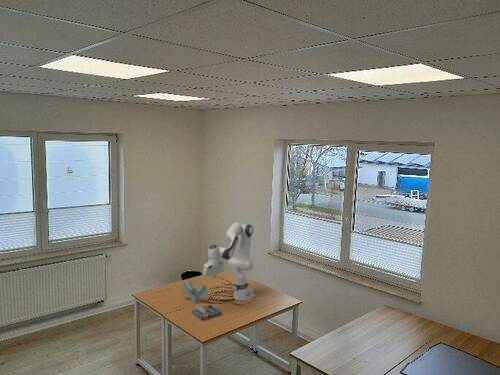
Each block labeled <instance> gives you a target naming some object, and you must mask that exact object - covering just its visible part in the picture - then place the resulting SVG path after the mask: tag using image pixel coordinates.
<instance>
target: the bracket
mask: <svg viewBox="0 0 500 375" xmlns="http://www.w3.org/2000/svg"><path fill="white" fill-rule="evenodd" d="M181 285H182V290H181V291H182V293H181V294H182V295H183V296H187V297H190V304H194V305H195V304H199V303H201V301H202V300H203V299H204V300H209V291H208V290H209V288H208V287H207V286H206V285H205V284H204V282H202V281H201V282H200V285H199V286H198V287H196V286H194V284H193V281H192V280H190V281H188V280H186V281H184V282H182V284H181Z"/></svg>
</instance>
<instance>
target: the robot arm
mask: <svg viewBox="0 0 500 375" xmlns="http://www.w3.org/2000/svg"><path fill="white" fill-rule="evenodd" d="M254 229H255V228H254V227H253V225H251V224H247V223H246V224H245V223H240V222H234V223H233V224H231V225H230V226H229V228H228V229H227V230H226V233H225V237H226V239H227V240H228V241H229V242H230V244H229V246H228V247H222V246H219V245H216V244H212V245H210V246H208V252H207V256H208V261H207V262H206V263H205V264H203V270H202V271H203V272H202V275H203V277H205V278H208V277H210V276H211V277H212V280H215V279H217V276H218V274H220V273H223V272H224V271H225V267H224V261H219V260H220V259H222V260H226V261H227V265H228V267H229V268H230V269H231V271H232V273H233V275H234V285H233V286H234V287H233V288H234V291H233V297H234V298H235V299H234V298H233V297H232V298H233V299H234V300H236V301H245V302H246V301H249V300H250V299H252V298H255V297H256V293H254V290H253V289H252V288H251V287H250V283H249V282H247V275H246V273H244V272H243V271H245V272H248V271H252V270H253V268H254V262H253V260H252V258H251V257H250V248H251V244H252V235H253V233H254ZM239 236H240V240H239ZM237 244H238V247H237ZM236 247H237V252H238V254H240V255H241V257H235V256H234V257H233V255H234V251H235V249H236Z"/></svg>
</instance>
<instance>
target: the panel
mask: <svg viewBox="0 0 500 375" xmlns="http://www.w3.org/2000/svg"><path fill="white" fill-rule="evenodd" d="M203 307H204V306H201V305H200V304H197V305H196V306H195V309H196V311H197V312H198V313H200V314H201V315H203V316H204V315H206V309H204V308H203Z"/></svg>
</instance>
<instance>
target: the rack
mask: <svg viewBox="0 0 500 375" xmlns="http://www.w3.org/2000/svg"><path fill="white" fill-rule="evenodd" d="M202 307H203V308H204V309H206V315H204V316H203V315H201V314H200V313H198V312H197V311H196V308H195V309H193V310H192V315H193V316H195V317H196V318H197V319H199V320H200V321H201V322H205V321H207V320H210V319H213V318H216V317H219V316H222V310H221V309H219V308H218V307H215V306H214V305H212V304H208V305H205V306H202Z"/></svg>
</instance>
